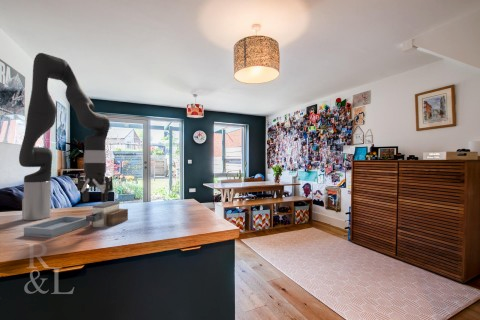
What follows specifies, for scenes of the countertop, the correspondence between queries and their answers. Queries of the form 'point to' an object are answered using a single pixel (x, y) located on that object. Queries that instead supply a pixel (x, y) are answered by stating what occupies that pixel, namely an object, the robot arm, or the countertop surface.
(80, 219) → the tray
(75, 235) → the countertop surface
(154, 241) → the countertop surface
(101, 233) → the countertop surface
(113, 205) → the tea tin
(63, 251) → the countertop surface
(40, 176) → the robot arm
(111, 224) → the cubby
